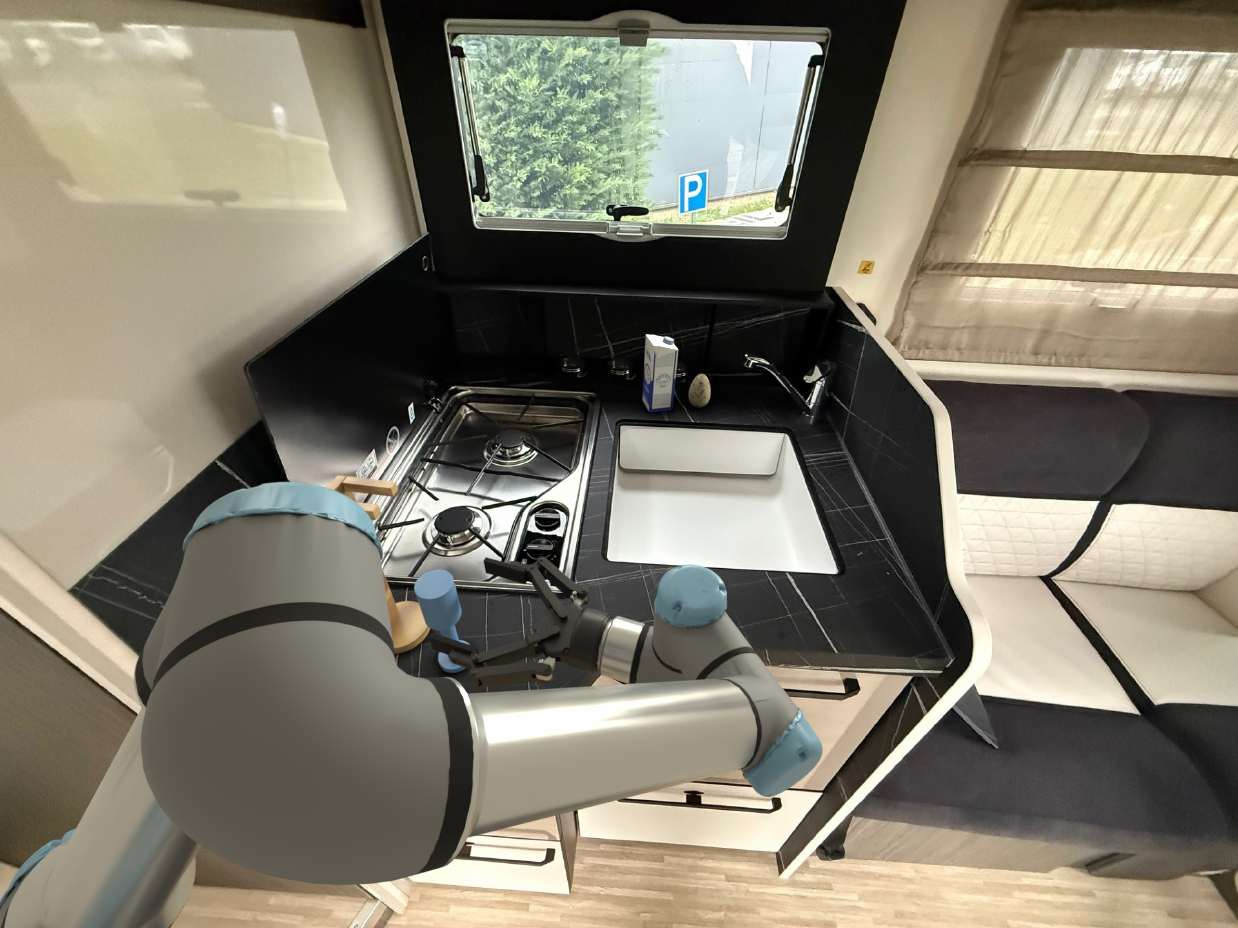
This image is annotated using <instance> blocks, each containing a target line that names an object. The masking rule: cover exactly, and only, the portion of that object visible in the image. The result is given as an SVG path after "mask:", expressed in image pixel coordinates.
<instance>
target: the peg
mask: <svg viewBox="0 0 1238 928" xmlns="http://www.w3.org/2000/svg"><path fill="white" fill-rule="evenodd" d="M413 590H414V593H415V597H416V600H417V602H418V603H419V606H420V608H421V611H422V614H423V617H424V620H425V623H426V625H427V626H428V627H429V628H430V630H433V631H439V633H440V635H441V636H444V637H447V638H450V639H453V640H456V641H459V642H463V643H466V644H469V645H471V644H470V643H469V642H467V641H466V640H462V639H459V636H458V632H457V628H456V624H457V623H458V622H459V621H460V619H461V617H462V612H463V609H462V606H461V602H460V599H459V594H458V591H457V587H456V584H455V580H454V576H453V575H452V574H451V572H449V571H448V570H446V569H442V568H441V569H437V568H436V569H432V570H429V571H426V572H424V573H423V574H421V575H419V577H418V578H417V579H416V581H415V583H414V586H413ZM437 662H438V664H439V667H440V668H441V669H442V671H444V672H446V673H451V674H455V673H459V672H462V671H463V670H465V669H466V668H465V667H462V666H459V665H456V664H453V663H452V662H451V660H450V657H449V655H447V654H444V653H441V652H438V656H437Z"/></svg>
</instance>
